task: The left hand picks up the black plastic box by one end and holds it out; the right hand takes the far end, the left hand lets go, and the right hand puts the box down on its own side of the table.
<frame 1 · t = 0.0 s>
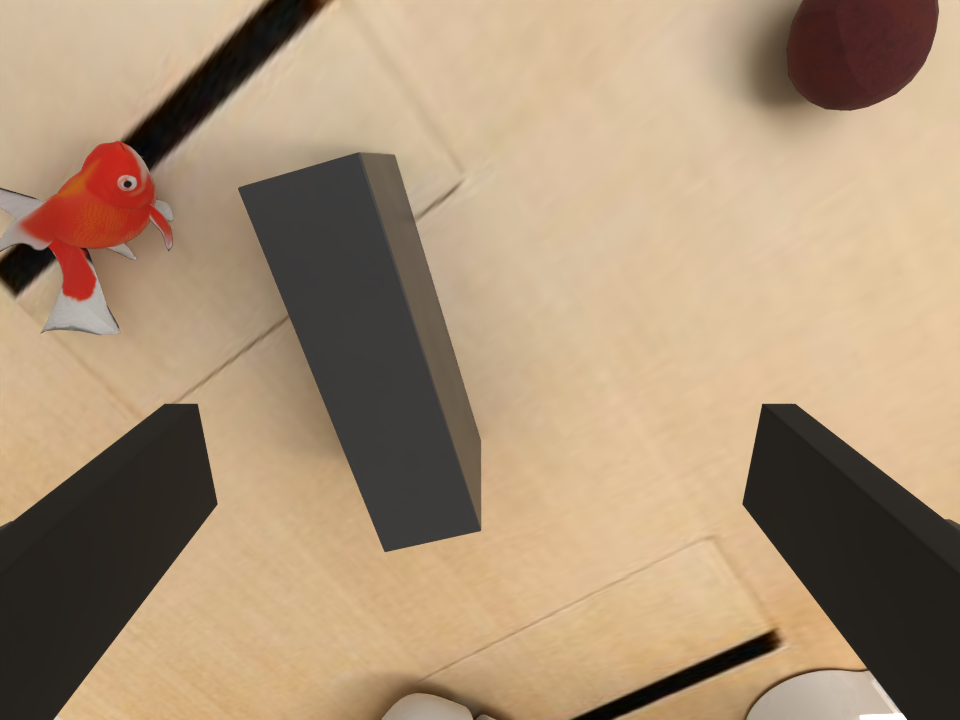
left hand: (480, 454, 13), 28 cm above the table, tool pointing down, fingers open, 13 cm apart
box: (401, 322, 41), on the table
potato: (820, 49, 34), on the table
fish: (125, 239, 39), on the table
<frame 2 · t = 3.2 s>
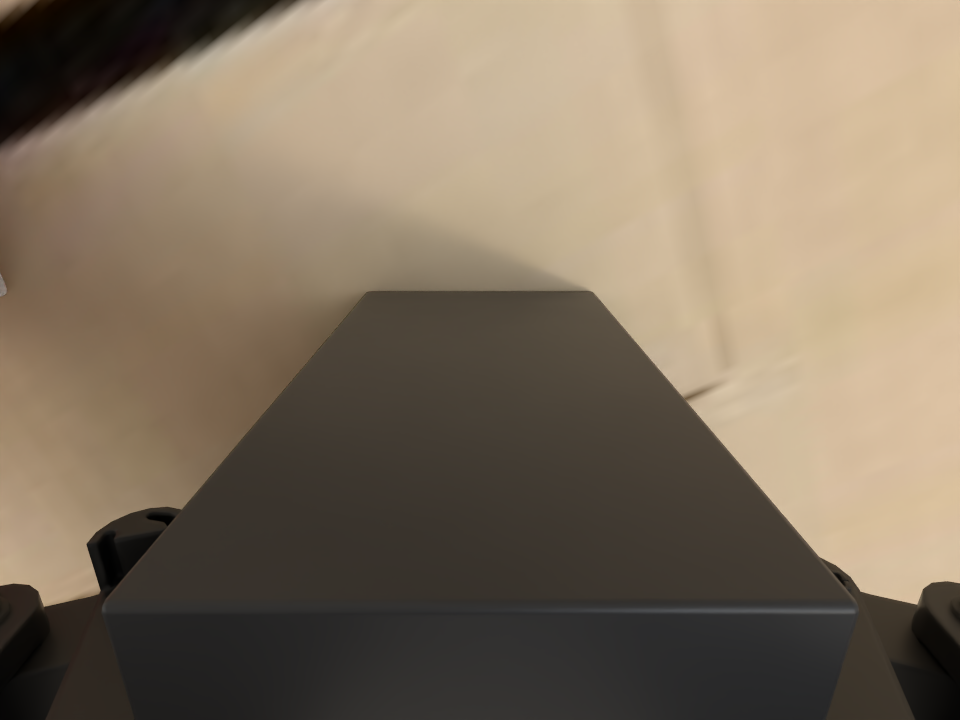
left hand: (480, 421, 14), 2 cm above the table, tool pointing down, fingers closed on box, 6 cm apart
box: (480, 607, 19), on the table, touching left hand
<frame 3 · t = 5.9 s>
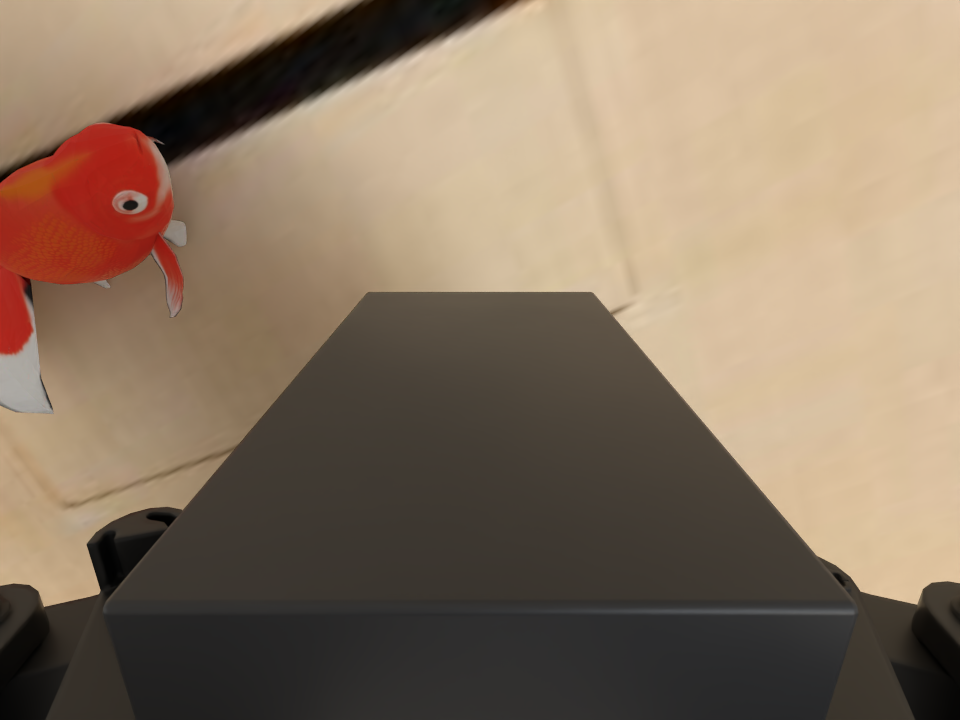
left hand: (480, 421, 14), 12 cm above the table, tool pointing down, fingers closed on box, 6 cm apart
box: (480, 608, 19), point 10 cm above the table, touching left hand
fish: (100, 253, 25), on the table
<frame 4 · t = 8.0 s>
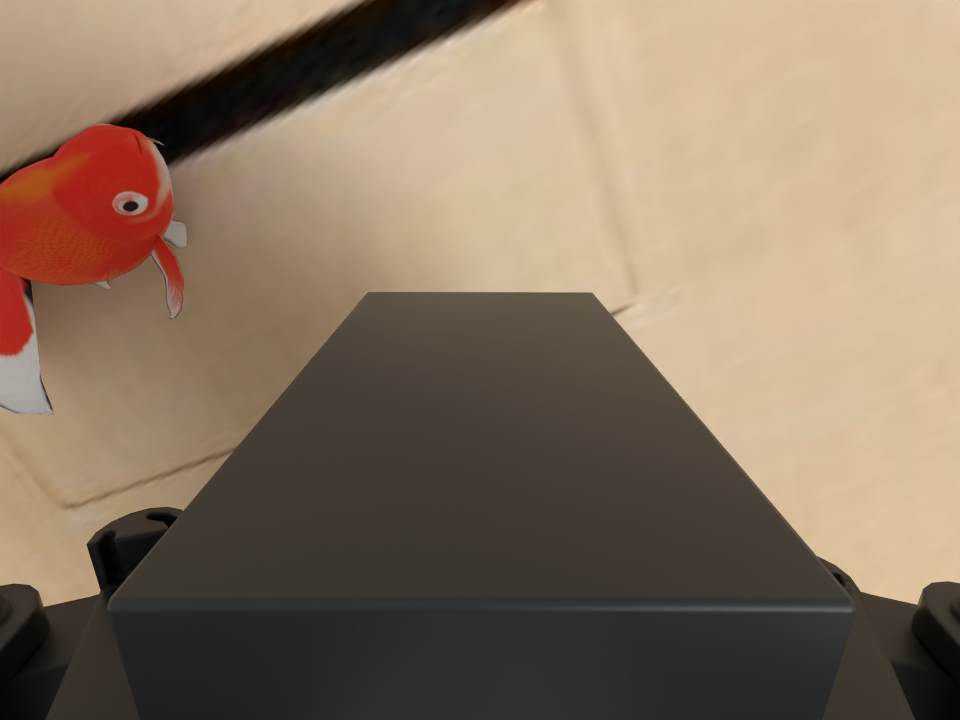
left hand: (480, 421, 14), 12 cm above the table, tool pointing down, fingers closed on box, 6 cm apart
box: (479, 607, 19), point 10 cm above the table, touching left hand, right hand
fish: (100, 254, 25), on the table
when the left hand's fingers open (12 cm above the table, at t = 8.9 s): box stays where it is, held by the right hand.
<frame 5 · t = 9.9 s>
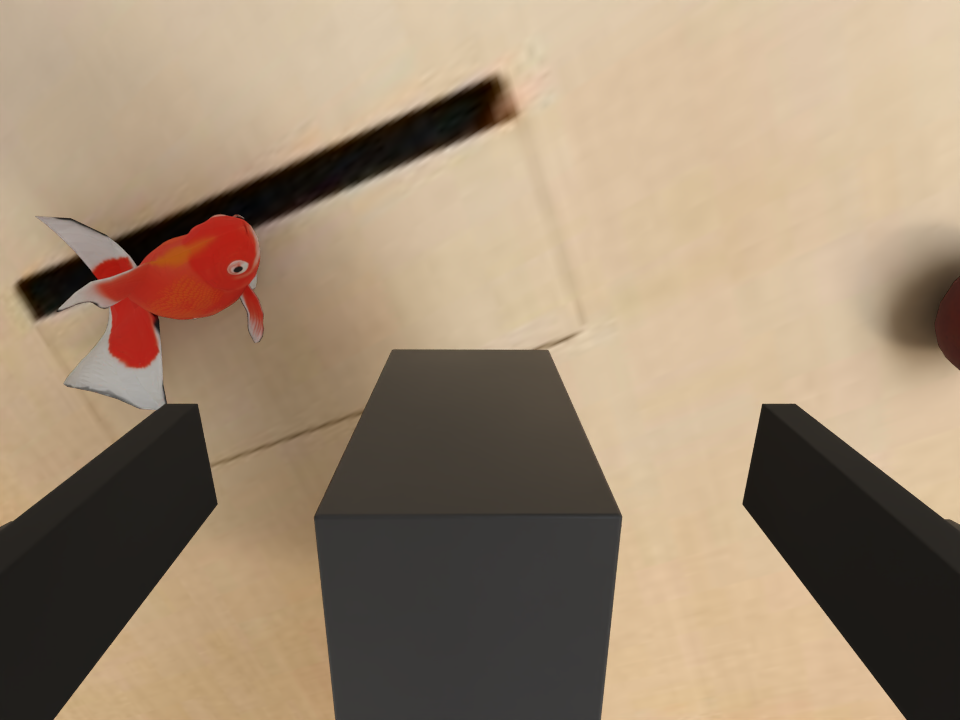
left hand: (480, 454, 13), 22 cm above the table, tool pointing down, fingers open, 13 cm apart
box: (470, 579, 25), point 12 cm above the table, touching right hand
fish: (190, 294, 33), on the table
when the right hand's fingers open (8 cm above the table, at t = 15.3 s): box stays where it is, resting on potato.
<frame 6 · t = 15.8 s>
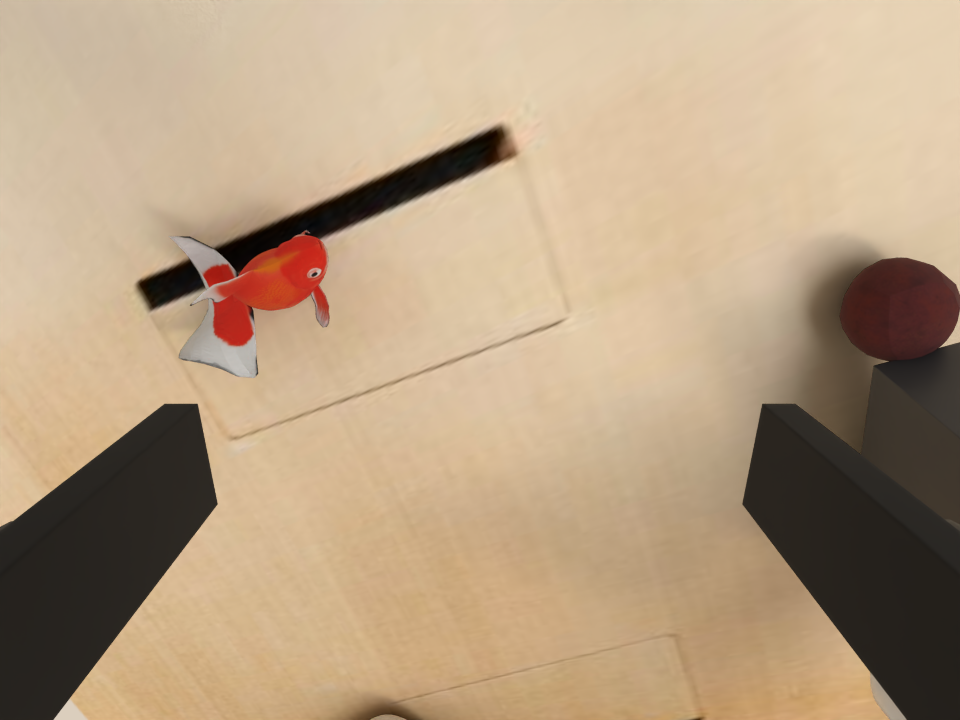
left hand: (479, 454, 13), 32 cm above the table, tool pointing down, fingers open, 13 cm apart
box: (896, 458, 46), point 3 cm above the table, tilted 14°, touching potato
potato: (865, 297, 44), on the table, touching box
fish: (268, 290, 44), on the table
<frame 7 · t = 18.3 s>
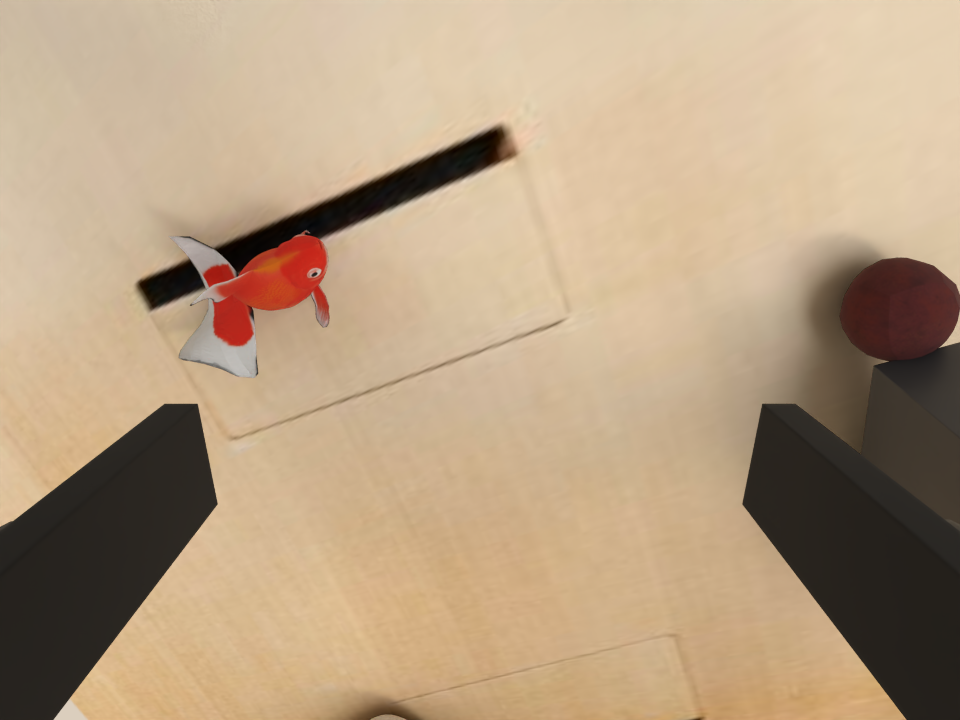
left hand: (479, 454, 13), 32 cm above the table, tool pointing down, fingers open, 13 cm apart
box: (896, 458, 46), point 3 cm above the table, tilted 14°, touching potato
potato: (865, 297, 44), on the table, touching box
fish: (268, 290, 44), on the table
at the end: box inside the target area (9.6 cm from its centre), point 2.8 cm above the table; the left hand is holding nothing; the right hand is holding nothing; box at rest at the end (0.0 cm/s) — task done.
